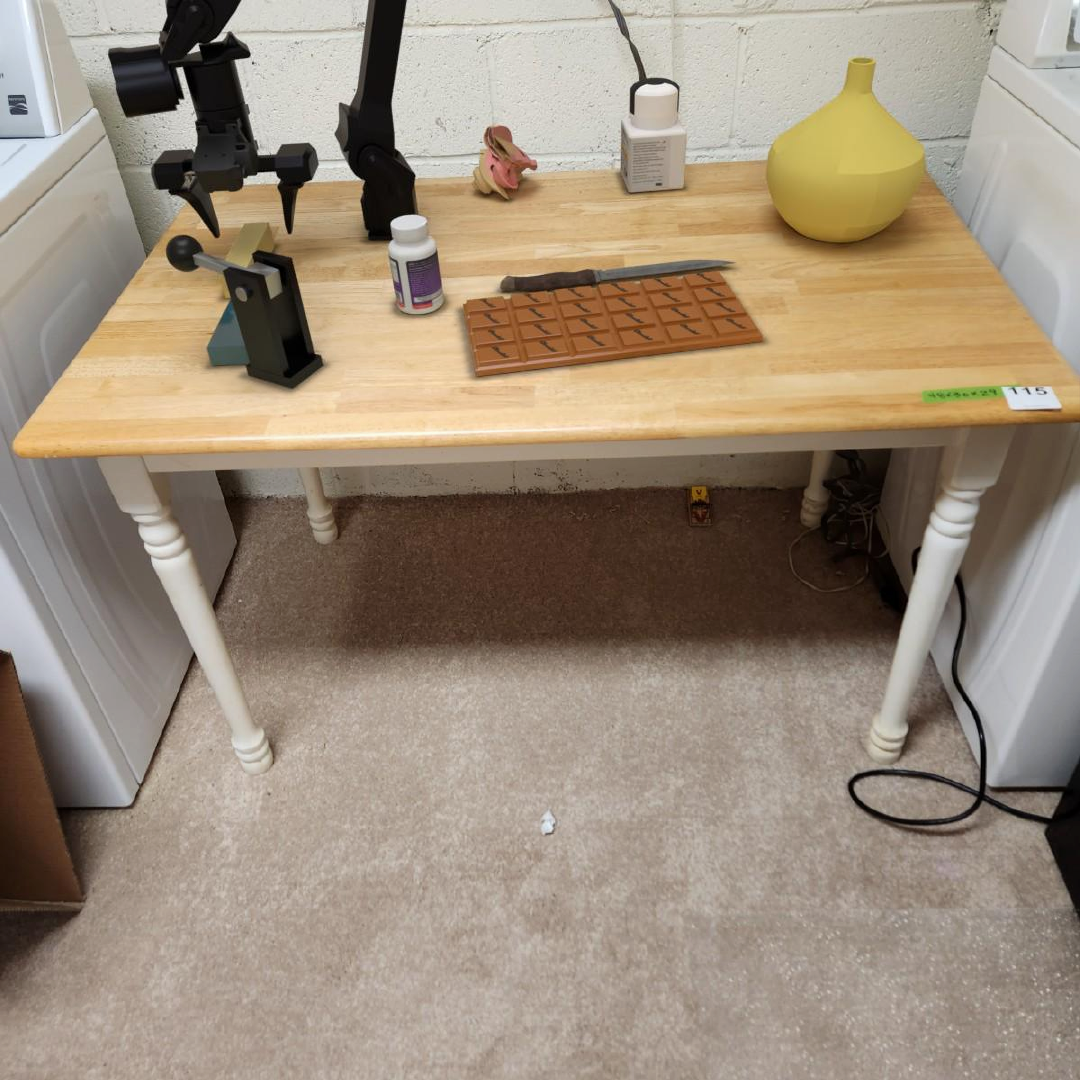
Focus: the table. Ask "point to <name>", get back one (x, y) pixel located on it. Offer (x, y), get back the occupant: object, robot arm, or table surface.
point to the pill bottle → (415, 266)
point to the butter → (248, 247)
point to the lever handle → (214, 262)
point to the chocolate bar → (605, 323)
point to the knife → (599, 275)
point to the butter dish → (227, 341)
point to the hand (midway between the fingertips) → (254, 234)
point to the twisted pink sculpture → (500, 162)
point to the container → (653, 137)
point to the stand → (273, 323)
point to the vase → (845, 165)
